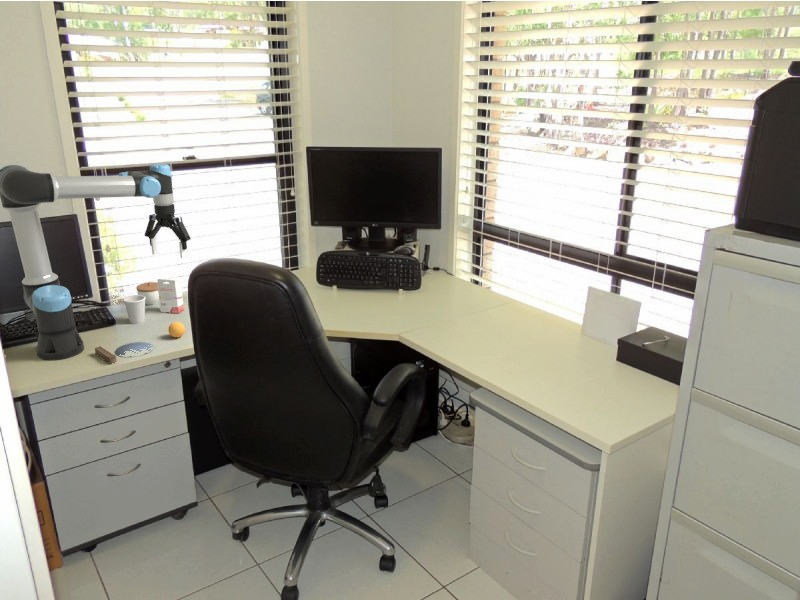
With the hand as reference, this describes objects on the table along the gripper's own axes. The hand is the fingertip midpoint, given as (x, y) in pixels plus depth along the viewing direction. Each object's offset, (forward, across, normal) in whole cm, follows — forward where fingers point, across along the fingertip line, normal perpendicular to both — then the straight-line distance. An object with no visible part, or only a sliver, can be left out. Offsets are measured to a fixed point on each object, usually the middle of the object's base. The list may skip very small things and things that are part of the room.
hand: (169, 255), depth 254 cm
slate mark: (+25, -10, +36) cm, 45 cm away
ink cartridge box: (+26, +3, -2) cm, 26 cm away
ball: (+22, -16, +21) cm, 35 cm away
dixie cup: (+26, +9, +13) cm, 30 cm away
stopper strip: (+25, -5, +46) cm, 53 cm away
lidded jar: (+26, +18, -8) cm, 32 cm away
